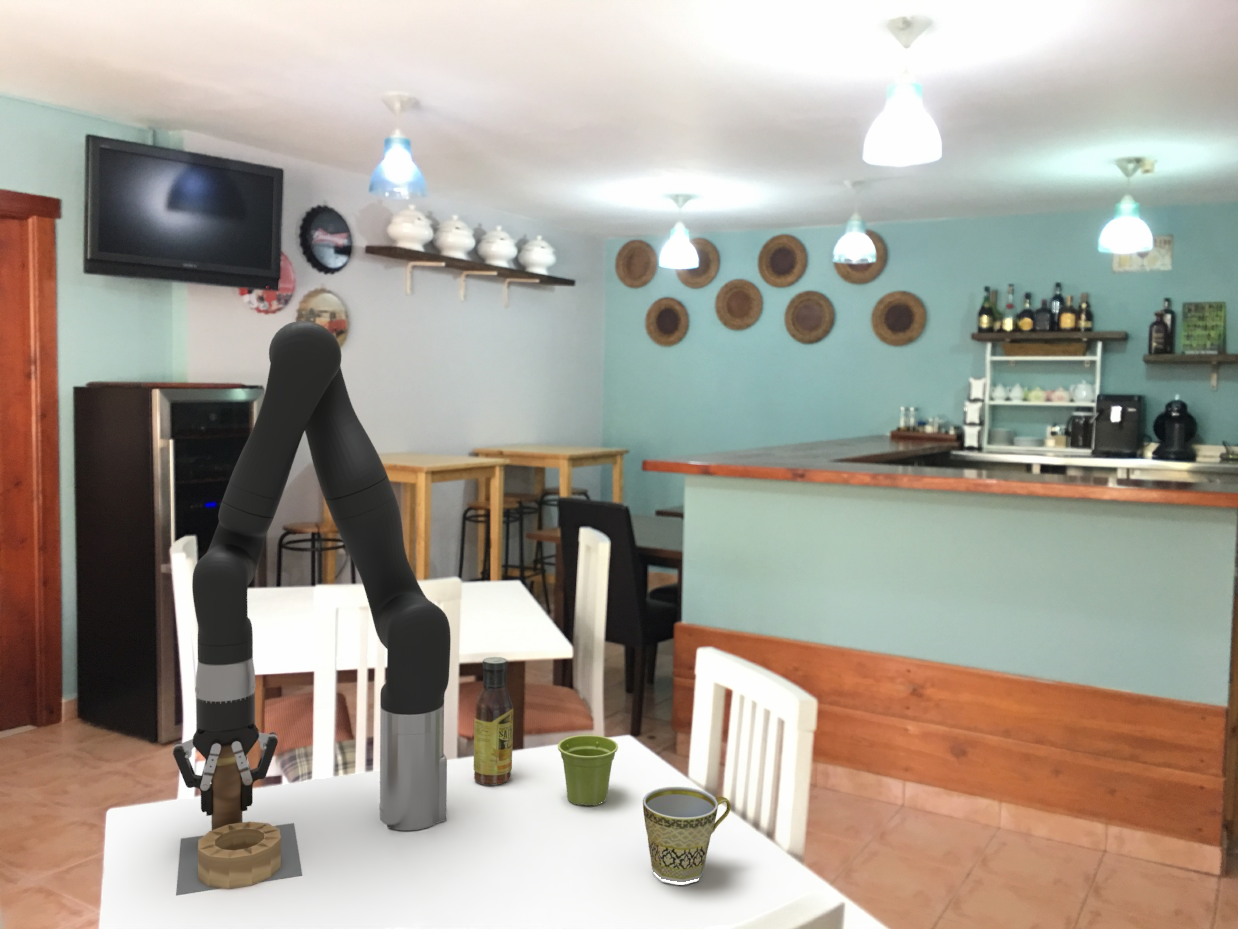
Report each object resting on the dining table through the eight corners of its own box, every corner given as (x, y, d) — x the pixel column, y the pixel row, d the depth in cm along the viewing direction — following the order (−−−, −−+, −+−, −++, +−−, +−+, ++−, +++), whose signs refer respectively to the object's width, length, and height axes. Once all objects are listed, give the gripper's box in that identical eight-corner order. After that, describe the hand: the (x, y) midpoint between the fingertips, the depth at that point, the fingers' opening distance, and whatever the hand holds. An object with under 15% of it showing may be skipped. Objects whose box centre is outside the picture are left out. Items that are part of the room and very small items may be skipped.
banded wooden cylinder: (243, 831, 140) (242, 735, 139) (243, 844, 136) (243, 745, 135) (211, 835, 139) (210, 738, 138) (210, 849, 135) (209, 749, 134)
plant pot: (545, 795, 156) (546, 741, 156) (594, 782, 162) (595, 730, 161) (578, 817, 149) (579, 761, 148) (628, 802, 154) (630, 748, 154)
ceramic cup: (664, 899, 126) (666, 824, 125) (627, 864, 135) (629, 793, 134) (748, 878, 132) (751, 805, 131) (708, 846, 141) (710, 778, 140)
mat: (294, 826, 143) (293, 823, 143) (302, 879, 129) (302, 875, 129) (180, 842, 138) (180, 838, 138) (176, 899, 123) (175, 895, 123)
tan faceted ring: (278, 845, 136) (278, 817, 136) (282, 880, 127) (282, 850, 127) (199, 857, 133) (199, 828, 132) (197, 893, 123) (197, 863, 123)
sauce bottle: (504, 789, 158) (506, 667, 156) (467, 785, 159) (469, 664, 158) (517, 773, 165) (519, 656, 163) (481, 769, 166) (483, 653, 164)
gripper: (279, 678, 142) (279, 793, 143) (170, 687, 137) (171, 807, 138) (282, 693, 135) (282, 815, 136) (167, 704, 130) (169, 830, 131)
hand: (226, 810), depth 137 cm, fingers closed on banded wooden cylinder, 4 cm apart
